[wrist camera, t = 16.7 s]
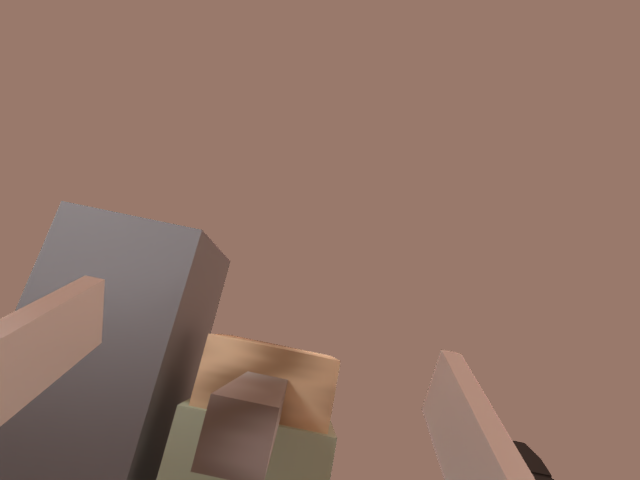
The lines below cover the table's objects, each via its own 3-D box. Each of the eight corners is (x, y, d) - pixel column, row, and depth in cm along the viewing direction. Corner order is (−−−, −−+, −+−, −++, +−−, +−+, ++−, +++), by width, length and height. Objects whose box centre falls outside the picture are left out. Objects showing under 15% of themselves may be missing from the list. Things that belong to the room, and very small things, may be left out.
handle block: (105, 454, 12) (146, 329, 13) (216, 389, 27) (230, 334, 28) (347, 504, 12) (367, 375, 13) (321, 410, 27) (331, 355, 28)
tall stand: (-225, 877, 15) (61, 201, 23) (-24, 671, 24) (130, 240, 32) (-8, 923, 15) (201, 229, 23) (110, 699, 24) (230, 261, 32)
